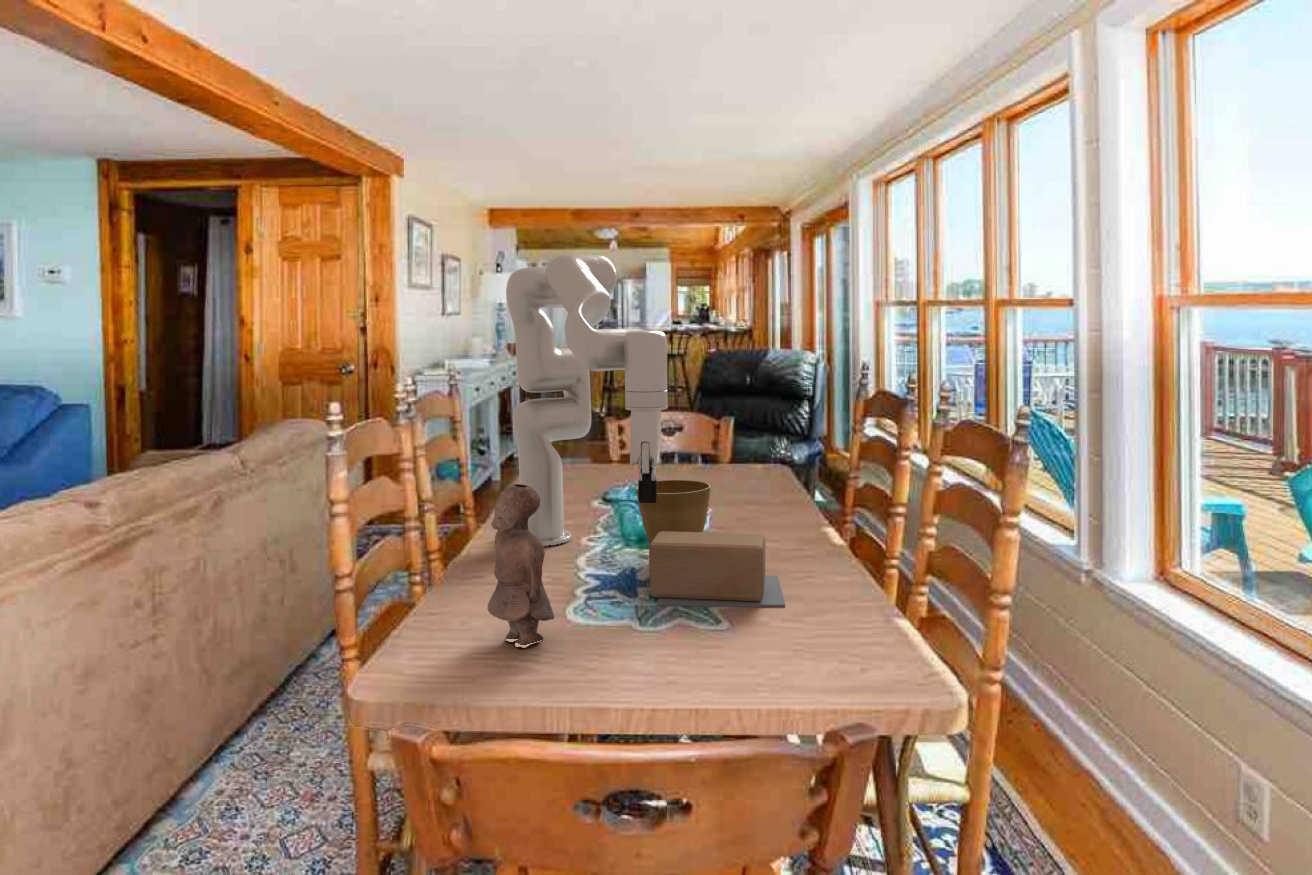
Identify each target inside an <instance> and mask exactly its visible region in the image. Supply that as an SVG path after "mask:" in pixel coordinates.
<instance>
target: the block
mask: <svg viewBox="0 0 1312 875" xmlns="http://www.w3.org/2000/svg"><path fill="white" fill-rule="evenodd" d="M766 545H767V544H766V537H765V535H764V534H761V533H741V532H739V533H738V532H737V533H734V532H729V533H728V532H706V531H705V532H704V531H703V532H673V531H661V532H658V534H657V535H656V537H655V538H654V540H653V541H652V543H651V544H649V548H648V554H649V556H648V558H649V559H648V560H649V562H648V564H649V566H648V568H649V569H648V570H649V573H648V574H649V578H648V579H649V593H650V595H651V597H653V598H659V597H663V598H687V599H711V600H734V601H760V600H762V597H763V594H764V587H765V575H766Z"/></svg>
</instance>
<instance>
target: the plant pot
mask: <svg viewBox="0 0 1312 875" xmlns="http://www.w3.org/2000/svg"><path fill="white" fill-rule="evenodd" d="M711 488H712V486H711V484H710V483H708V482H705V481H700V480H694V479H693V480H692V479H662V480H657V501H656V503H640V502H639V493H638V485H636V487H635V489H636V496H637V500H638V501H637V502H638V507H639V512H640V515H641V520H642V523H643V527H644V532H645V535H646V538H647V541H648V544H649V545H650V544H651V543H652V541H653V540H654V538H655V537H656V535H657V534H658V532H661V531H673V532H704V529H705V525H706V521H707V515H708V510H709V504H710V503H709V502H710V497H711V496H710V495H711Z"/></svg>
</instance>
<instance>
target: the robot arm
mask: <svg viewBox="0 0 1312 875" xmlns="http://www.w3.org/2000/svg"><path fill="white" fill-rule="evenodd" d="M617 281H618V276H617V271H616V268H615V265H614V264H613V263H612V261H611V260H610V259H609V258H608V257H606V256H603V255H599V254H573V253H571V254H561V255H558V256H555V257H553V258H552V259H551V260H549V262H548V263H547V264H546V266H531V267H524V268H520V269H517V270H514V271H513V272H512V273H511V274H510V275H509V277H508V280H507V283H506V289H505V297H506V304H507V308H508V312H509V315H510V318H511V320H512V324H513V328H514V340H515V358H516V359H515V360H516V372H517V375H516V376H517V381H518V383H519V386H520V388H521V389H522V390H523V391H525V392H528V393H552V392H553V393H554V392H563V397H561V396H559V397H546V398H533V399H528V400H525V401H522V402H520V403H519V404H518V405H517V406H516V407H515V408H514V410H513V413H512V424H513V425H512V426H513V430H514V434H515V435H514V436H515V440H516V446H517V455H518V470H519V471H518V473H519V484H523V485H527V486H529V487H531V488H533V489H534V490H535V491H536V492H537V494H538V495H539V497H540V506H539V508H538V510H537V511H536V512H535V513H534V514H533V515H531V516H530V517H529V519H528V529H529V531H530V532H531V533H532V534H533V535H534V536H536V537H537V538H539V539H540V540H541V542H542V543H543V545H544V547H549V545H551V546H556V545H557V544H558V545H562V544H566V543H567V542H569V541H570V540H571V539H572V533H571V532H570V531H569V530H567V529H565V519H564V517H565V516H564V515H565V514H564V481H563V480H564V479H563V462H562V458H561V456H560V454H559V452H558V451H557V450H556V449H555V448H554V446H553V444H552V442H557V441H558V442H559V441H566V440H573V439H574V440H576V439H581V438H583V437H585V436H586V435H588V434H589V431H590V430H591V427H592V400H591V380H590V379H591V378H590V371H592V372H607V371H618V370H619V371H624V396H625V397H624V400H625V402H624V403H625V405H624V406H625V407H624V408H625V410H627V411H630V424H629V425H630V426H629V428H630V429H629V430H630V431H629V432H630V436H629V446H630V450H629V452H630V454H629V465H630V466H632V467H635V465H636V464H637V463H638V482H637V483H638V484H637V486H638V493H639V502H640V503H656V501H657V481H658V480H657V478H656V466H657V465H658V464H659V461H660V454H661V444H662V443H661V441H662V411H663V410H664V411H665V410H667V409H668V406H669V405H668V404H669V403H668V398H669V397H668V393H669V392H668V339H667V336H666V333H665V332H663V331H661V330H650V329H649V330H647V329H642V328H599V329H598V328H597V329H595V328H593V327H594V326H597V325H599V323H600V322H602V321H603V320H604V319H605V318H606V316H607V315H608V314H609V312H610V309H611V305H612V302H611V300H612V299H611V296H610V295H611V294H612V293H614V290H615V289H616V286H617ZM541 308H542V309H541ZM545 308H546V309H548V308H549V309H550V308H553V309H555V308H556V309H558V308H559V309H561V308H563V309H565V311H566V312H567V316H566V319H565V323H564V335H565V341H566V345H567V347H559V348H557V347H556V342H555V340H556V339H555V327H554V325H553V323H552V321H551V320H550V318H549V317H548V315H547V314H546V313H545V311H544V310H543V309H545ZM639 502H638V503H639ZM561 543H562V544H561ZM558 545H557V546H558Z"/></svg>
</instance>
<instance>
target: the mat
mask: <svg viewBox="0 0 1312 875" xmlns="http://www.w3.org/2000/svg"><path fill="white" fill-rule="evenodd" d="M657 599H658V600H657V607H729V608H730V607H733V608H734V607H735V608H736V607H741V608H743V607H744V608H747V607H748V608H750V607H751V608H752V607H756V608H758V607H760V608H765V607H767V608H768V607H770V608H771V607H772V608H773V607H774V608H775V607H776V608H777V607H778V608H785V607H786V602H785V599H784V595H783V591H782V587H781V583H780V580H779V576H778V575H776V574H774V575H773V574H771V575H770V574H769V575H768V574H767V575H766V574H765V587H764V594H763V597H762V600H760V601H734V600H711V599H687V598H663V597H657Z"/></svg>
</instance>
